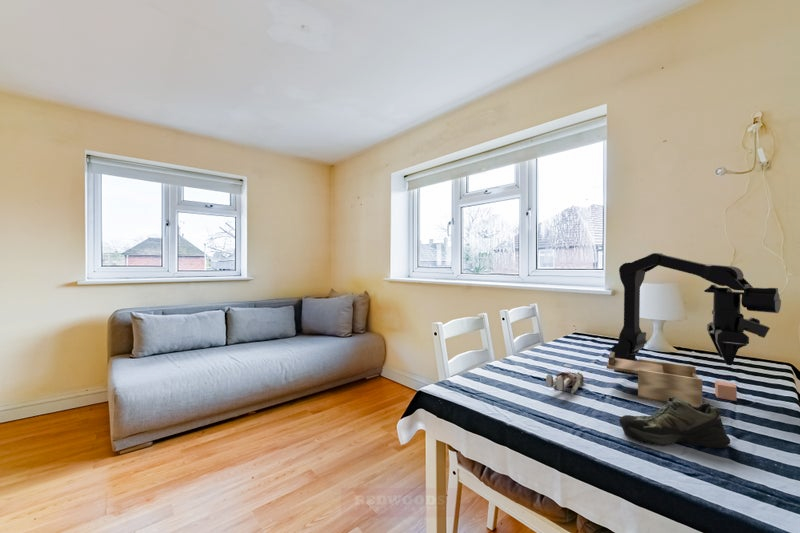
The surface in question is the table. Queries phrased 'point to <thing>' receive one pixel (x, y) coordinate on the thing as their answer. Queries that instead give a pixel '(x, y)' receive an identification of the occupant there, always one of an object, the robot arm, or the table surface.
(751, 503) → the table surface
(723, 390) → the block
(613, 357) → the lid
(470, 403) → the table surface
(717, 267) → the robot arm
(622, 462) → the table surface
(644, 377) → the box
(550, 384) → the figurine
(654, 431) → the hiking shoe
